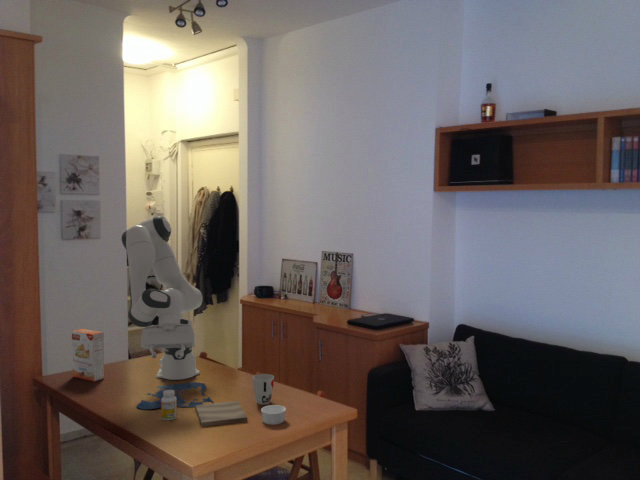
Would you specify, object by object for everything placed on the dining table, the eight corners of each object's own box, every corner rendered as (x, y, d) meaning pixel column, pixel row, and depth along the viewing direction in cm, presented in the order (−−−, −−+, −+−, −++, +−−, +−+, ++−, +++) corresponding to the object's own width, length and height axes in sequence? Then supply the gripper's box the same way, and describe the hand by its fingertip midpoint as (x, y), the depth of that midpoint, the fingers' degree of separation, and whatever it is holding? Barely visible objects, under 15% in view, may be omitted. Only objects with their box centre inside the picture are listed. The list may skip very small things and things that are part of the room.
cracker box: (71, 377, 257) (70, 330, 256) (83, 374, 263) (82, 328, 261) (93, 382, 250) (92, 334, 249) (104, 378, 256) (104, 331, 254)
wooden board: (195, 409, 218) (195, 405, 218) (237, 404, 224) (237, 401, 223) (201, 426, 201) (201, 422, 201) (247, 421, 206) (247, 417, 206)
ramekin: (277, 427, 201) (277, 415, 201) (256, 422, 206) (256, 410, 206) (290, 419, 209) (290, 407, 209) (270, 414, 214) (270, 403, 213)
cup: (262, 407, 221) (262, 381, 220) (248, 402, 226) (248, 377, 226) (278, 402, 227) (278, 376, 226) (264, 397, 232) (264, 372, 232)
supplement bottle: (166, 414, 213) (166, 388, 212) (179, 416, 211) (179, 389, 211) (158, 419, 208) (158, 392, 207) (171, 421, 206) (171, 394, 206)
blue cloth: (204, 382, 251) (204, 381, 251) (211, 405, 224) (211, 403, 224) (138, 388, 244) (138, 386, 244) (137, 411, 216) (137, 409, 216)
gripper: (141, 322, 226) (136, 353, 217) (195, 320, 228) (193, 351, 219) (143, 331, 230) (139, 361, 221) (196, 329, 233) (194, 360, 224)
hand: (166, 356), depth 220 cm, fingers open, 8 cm apart
